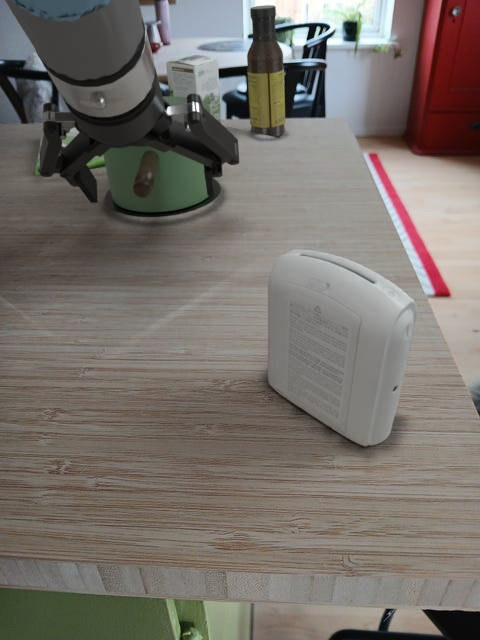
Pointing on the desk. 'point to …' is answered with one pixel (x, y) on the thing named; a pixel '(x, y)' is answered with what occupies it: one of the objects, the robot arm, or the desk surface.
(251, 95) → the sauce bottle
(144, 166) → the pot
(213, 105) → the syrup box
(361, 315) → the photo printer
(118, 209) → the trivet
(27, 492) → the desk surface
